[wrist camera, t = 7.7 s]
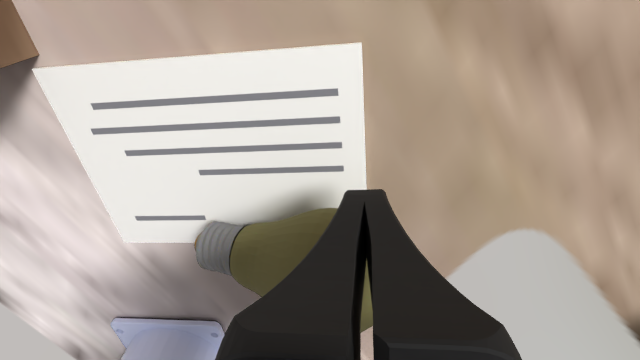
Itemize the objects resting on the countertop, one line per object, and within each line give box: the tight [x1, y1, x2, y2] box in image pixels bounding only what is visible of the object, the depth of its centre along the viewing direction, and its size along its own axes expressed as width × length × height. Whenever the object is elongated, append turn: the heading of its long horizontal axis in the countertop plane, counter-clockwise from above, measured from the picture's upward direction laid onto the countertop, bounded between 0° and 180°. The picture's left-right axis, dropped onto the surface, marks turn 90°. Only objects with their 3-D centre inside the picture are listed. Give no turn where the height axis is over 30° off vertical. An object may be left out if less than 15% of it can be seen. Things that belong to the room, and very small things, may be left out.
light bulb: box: [194, 208, 373, 333], centre depth 17 cm, size 6×6×10 cm
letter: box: [32, 42, 367, 243], centre depth 17 cm, size 10×14×1 cm
